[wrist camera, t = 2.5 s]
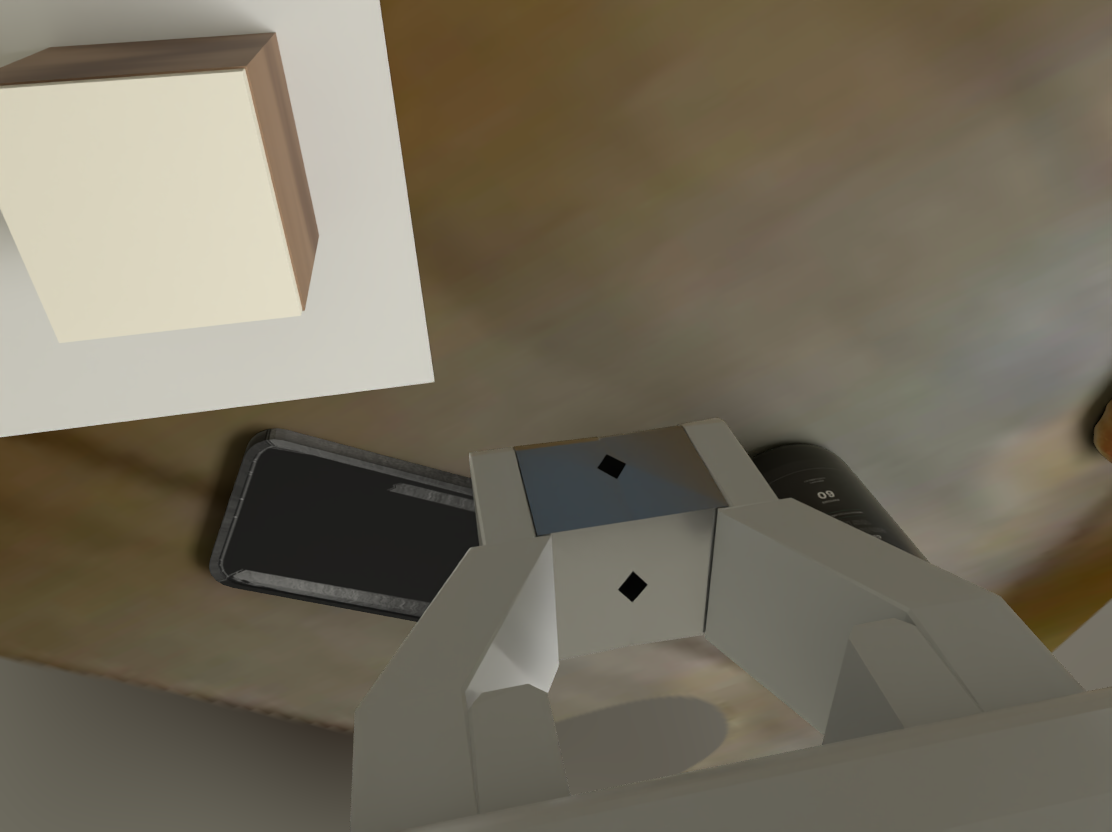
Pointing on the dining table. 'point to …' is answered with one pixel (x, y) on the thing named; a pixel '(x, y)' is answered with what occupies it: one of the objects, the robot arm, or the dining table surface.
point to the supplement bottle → (830, 490)
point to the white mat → (341, 215)
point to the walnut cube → (156, 184)
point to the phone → (342, 526)
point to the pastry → (1104, 433)
